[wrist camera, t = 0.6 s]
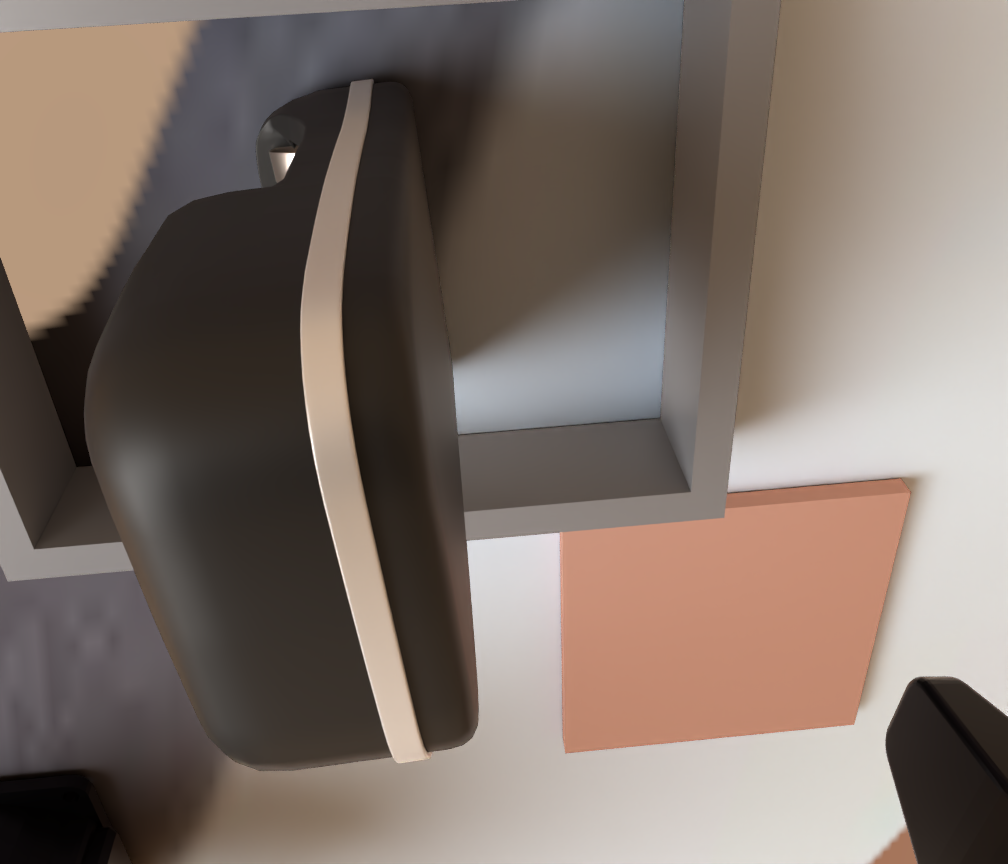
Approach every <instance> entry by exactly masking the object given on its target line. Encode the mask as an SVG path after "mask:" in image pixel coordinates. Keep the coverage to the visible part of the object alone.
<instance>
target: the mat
mask: <svg viewBox="0 0 1008 864" xmlns="http://www.w3.org/2000/svg"><path fill="white" fill-rule="evenodd" d="M910 494H911V491H910V490H909V489H908V487H907V486H906V485H905V483H904V482H903V481H902V479H901V478H900V479H889V480H878V481H866V482H855V483H843V484H832V485H820V486H809V487H798V488H786V489H775V490H763V491H752V492H740V493H729V494H727V498H726V507H725V516H724V518H717V519H706V520H694V521H683V522H672V523H661V524H649V525H638V526H627V527H616V528H604V529H593V530H582V531H570V532H560V573H561V644H562V715H563V741H564V747H565V753H573V752H583V751H593V750H603V749H613V748H623V747H633V746H643V745H653V744H663V743H673V742H683V741H693V740H703V739H713V738H723V737H733V736H744V735H754V734H764V733H774V732H784V731H794V730H804V729H814V728H824V727H834V726H844V725H854V723H855V719H856V715H857V710H858V706H859V702H860V698H861V694H862V690H863V686H864V682H865V678H866V674H867V670H868V666H869V662H870V657H871V653H872V649H873V645H874V641H875V637H876V633H877V629H878V625H879V621H880V617H881V613H882V609H883V604H884V600H885V596H886V592H887V588H888V584H889V580H890V576H891V572H892V568H893V564H894V560H895V556H896V551H897V547H898V543H899V539H900V535H901V531H902V527H903V523H904V519H905V515H906V511H907V507H908V503H909V498H910Z"/></svg>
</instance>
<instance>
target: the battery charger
mask: <svg viewBox="0 0 1008 864" xmlns="http://www.w3.org/2000/svg"><path fill="white" fill-rule="evenodd" d="M256 158H257V166H258V172H259V178H260V183H261V187H262V188H257V189H249V190H241V191H233V192H227V193H223V194H219V195H215V196H210V197H206V198H202V199H198V200H194V201H192V202H190V203H189V204H187V205H185V206H184V207H182V208H180V209H178V210H177V211H175V212H173V213H172V214H170V215H168V217H167V218H166V220H165V221H164V223H163V224H162V226H161V227H160V229H159V231H158V232H157V234H156V235H155V237H154V239H153V240H152V242H151V243H150V245H149V246H148V248H147V249H146V251H145V253H144V254H143V256H142V257H141V259H140V260H139V262H138V263H137V265H136V266H135V268H134V269H133V271H132V273H131V275H130V277H129V279H128V281H127V283H126V284H125V286H124V288H123V290H122V292H121V294H120V296H119V298H118V300H117V302H116V305H115V307H114V309H113V311H112V313H111V315H110V317H109V319H108V321H107V324H106V326H105V328H104V330H103V333H102V335H101V337H100V339H99V342H98V344H97V346H96V348H95V352H94V355H93V358H92V361H91V364H90V367H89V370H88V374H87V383H86V393H85V402H84V423H85V437H86V442H87V446H88V450H89V454H90V459H91V463H92V465H93V468H94V471H95V474H96V476H97V479H98V482H99V484H100V487H101V490H102V493H103V495H104V498H105V501H106V504H107V506H108V509H109V511H110V514H111V516H112V518H113V521H114V523H115V526H116V528H117V531H118V533H119V535H120V538H121V540H122V543H123V545H124V548H125V550H126V552H127V555H128V557H129V560H130V562H131V565H132V567H133V569H134V572H135V574H136V577H137V579H138V582H139V584H140V586H141V589H142V591H143V594H144V596H145V599H146V601H147V603H148V606H149V608H150V611H151V613H152V616H153V618H154V620H155V623H156V625H157V627H158V630H159V632H160V634H161V636H162V639H163V641H164V643H165V645H166V648H167V650H168V652H169V654H170V657H171V659H172V661H173V663H174V666H175V668H176V670H177V672H178V675H179V677H180V679H181V681H182V684H183V686H184V688H185V690H186V692H187V695H188V697H189V699H190V701H191V704H192V706H193V708H194V710H195V713H196V715H197V717H198V719H199V721H200V723H201V725H202V727H203V729H204V730H205V732H206V734H207V736H208V737H209V738H210V739H211V740H212V741H213V742H214V743H215V744H216V745H217V746H218V747H219V748H220V749H221V750H222V751H223V752H224V753H225V754H226V755H227V756H228V757H230V758H231V759H232V760H234V761H235V762H237V763H240V764H243V765H245V766H248V767H251V768H254V769H256V770H259V771H286V770H300V769H308V768H315V767H322V766H330V765H337V764H344V763H352V762H359V761H366V760H374V759H381V758H388V757H393V758H394V760H395V761H396V762H397V763H405V762H412V761H420V760H427V759H430V758H431V756H432V751H440V750H447V749H451V748H455V747H458V746H462V745H464V744H465V743H466V742H467V741H469V740H470V739H471V738H472V737H473V735H474V733H475V731H476V728H477V726H478V712H479V707H478V685H477V670H476V657H475V644H474V631H473V618H472V605H471V592H470V579H469V566H468V554H467V541H466V529H465V517H464V505H463V493H462V481H461V469H460V457H459V445H458V433H457V421H456V408H455V395H454V382H453V369H452V359H451V353H450V346H449V339H448V333H447V326H446V319H445V313H444V306H443V299H442V293H441V286H440V280H439V273H438V266H437V260H436V253H435V246H434V240H433V233H432V227H431V220H430V213H429V207H428V200H427V194H426V187H425V180H424V174H423V167H422V161H421V154H420V147H419V141H418V134H417V128H416V121H415V115H414V108H413V102H412V99H411V95H410V92H409V91H408V90H407V89H406V88H405V86H404V85H402V84H400V83H397V82H383V83H375V84H374V81H373V79H368V80H360V81H353V82H351V85H350V87H343V88H335V89H327V90H319V91H316V92H314V93H311V94H309V95H306V96H303V97H300V98H297V99H294V100H292V101H290V102H289V103H287V104H285V105H284V106H282V107H280V108H279V109H277V110H276V111H274V112H273V113H272V114H271V115H270V116H269V117H268V118H267V119H266V121H265V122H264V124H263V126H262V127H261V130H260V133H259V135H258V138H257V141H256Z"/></svg>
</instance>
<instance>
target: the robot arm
mask: <svg viewBox="0 0 1008 864" xmlns="http://www.w3.org/2000/svg"><path fill="white" fill-rule="evenodd" d="M886 754H887V758H888V762H889V765H890V769H891V772H892V776H893V779H894V783H895V786H896V790H897V794H898V797H899V801H900V804H901V808H902V811H903V815H904V818H905V822H906V825H907V829H908V832H909V836H910V839H911V843H912V846H913V850H914V854H915V857H916V861H917V864H1008V716H1006V715H1005V714H1004V713H1003V712H1001V711H1000V710H999V709H998V708H996V707H995V706H994V705H993V704H991V703H990V702H989V701H987V700H986V699H985V698H984V697H982V696H981V695H980V694H979V693H977V692H976V691H975V690H973V689H972V688H971V687H970V686H968V685H967V684H966V683H964V682H963V681H961V680H959V679H957V678H954V677H917V678H915V679H913V680H912V681H911V682H910V683H909V684H908V686H907V687H906V690H905V692H904V694H903V696H902V698H901V701H900V703H899V705H898V707H897V709H896V711H895V714H894V716H893V718H892V720H891V722H890V725H889V727H888V729H887V733H886ZM0 864H132V863H131V861H130V859H129V857H128V854H127V852H126V850H125V848H124V846H123V843H122V841H121V839H120V837H119V835H118V833H117V832H116V831H115V830H114V829H113V828H112V826H111V824H110V822H109V820H108V817H107V815H106V813H105V811H104V809H103V806H102V804H101V802H100V800H99V798H98V795H97V793H96V791H95V789H94V787H93V785H92V783H91V782H90V781H89V780H88V779H87V778H85V777H82V776H78V775H65V776H55V777H45V778H35V779H25V780H15V781H4V782H0Z"/></svg>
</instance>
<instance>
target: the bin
mask: <svg viewBox="0 0 1008 864" xmlns="http://www.w3.org/2000/svg"><path fill="white" fill-rule="evenodd" d="M500 1H516V0H0V32H14V31H30V30H47V29H63V28H79V27H94V26H111V25H128V24H143V23H160V22H176V21H192V20H208V19H225V18H241V17H257V16H273V15H289V14H305V13H322V12H338V11H354V10H370V9H386V8H403V7H419V6H435V5H451V4H467V3H483V2H500ZM780 5H781V0H684V11H683V29H682V46H681V64H680V81H679V99H678V116H677V134H676V151H675V169H674V186H673V204H672V221H671V238H670V256H669V273H668V291H667V308H666V326H665V343H664V361H663V378H662V396H661V413H660V419H648V420H636V421H624V422H612V423H600V424H588V425H576V426H564V427H552V428H540V429H528V430H516V431H504V432H492V433H481V434H469V435H458V445H459V457H460V469H461V481H462V493H463V505H464V517H465V529H466V541H469V540H480V539H492V538H503V537H514V536H525V535H537V534H548V533H559V532H570V531H582V530H593V529H604V528H616V527H627V526H638V525H649V524H661V523H672V522H683V521H694V520H706V519H717V518H724V516H725V507H726V498H727V489H728V480H729V470H730V461H731V452H732V443H733V434H734V425H735V416H736V407H737V398H738V388H739V379H740V370H741V361H742V352H743V343H744V334H745V325H746V315H747V306H748V297H749V288H750V279H751V270H752V261H753V252H754V243H755V233H756V224H757V215H758V206H759V197H760V188H761V179H762V170H763V160H764V151H765V142H766V133H767V124H768V115H769V106H770V97H771V88H772V78H773V69H774V60H775V51H776V42H777V33H778V24H779V15H780ZM0 565H1V567H2V569H3V572H4V574H5V576H6V578H7V580H8V581H18V580H29V579H41V578H52V577H63V576H75V575H86V574H97V573H108V572H120V571H131V570H134V569H133V567H132V565H131V562H130V560H129V557H128V555H127V552H126V550H125V548H124V545H123V543H122V540H121V538H120V535H119V533H118V531H117V528H116V526H115V523H114V521H113V518H112V516H111V514H110V511H109V509H108V506H107V504H106V501H105V498H104V495H103V493H102V490H101V487H100V484H99V482H98V479H97V476H96V474H95V471H94V468H93V466H85V467H76V464H75V462H74V459H73V456H72V453H71V451H70V448H69V445H68V442H67V440H66V437H65V434H64V431H63V429H62V426H61V423H60V420H59V418H58V415H57V412H56V409H55V407H54V404H53V401H52V398H51V396H50V393H49V390H48V387H47V385H46V382H45V379H44V376H43V374H42V371H41V368H40V365H39V363H38V360H37V357H36V354H35V352H34V349H33V346H32V343H31V341H30V338H29V335H28V332H27V330H26V327H25V324H24V321H23V319H22V316H21V314H20V311H19V308H18V305H17V302H16V299H15V297H14V294H13V292H12V288H11V286H10V283H9V280H8V277H7V275H6V272H5V269H4V266H3V264H2V261H1V258H0Z"/></svg>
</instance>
